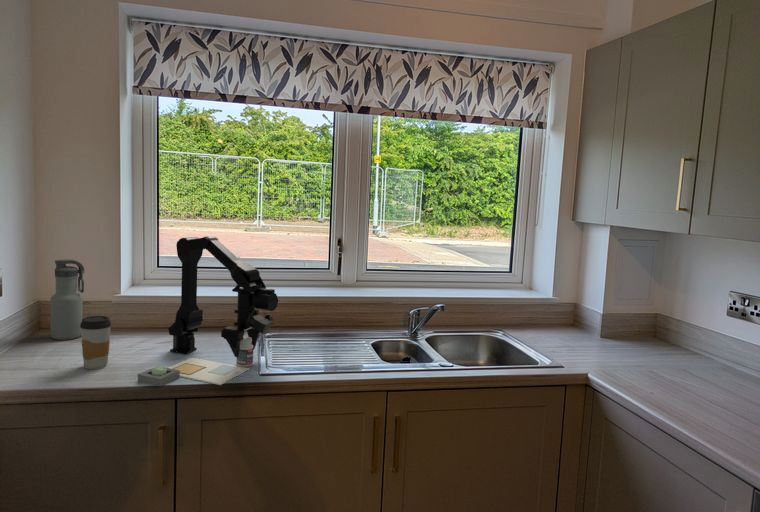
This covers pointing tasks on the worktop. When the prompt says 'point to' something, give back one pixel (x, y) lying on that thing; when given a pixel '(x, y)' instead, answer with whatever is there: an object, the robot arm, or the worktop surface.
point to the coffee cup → (95, 341)
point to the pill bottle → (245, 353)
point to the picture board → (208, 370)
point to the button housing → (158, 377)
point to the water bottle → (67, 301)
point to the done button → (159, 371)
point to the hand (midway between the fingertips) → (244, 353)
